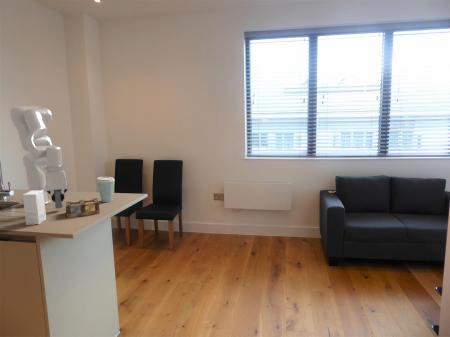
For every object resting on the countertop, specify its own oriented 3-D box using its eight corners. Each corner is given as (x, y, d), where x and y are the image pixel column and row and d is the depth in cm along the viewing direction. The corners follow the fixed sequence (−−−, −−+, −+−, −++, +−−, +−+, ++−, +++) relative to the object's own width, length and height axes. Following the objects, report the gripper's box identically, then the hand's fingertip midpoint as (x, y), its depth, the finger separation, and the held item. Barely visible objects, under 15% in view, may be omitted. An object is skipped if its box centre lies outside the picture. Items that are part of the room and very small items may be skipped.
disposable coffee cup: (116, 198, 203) (114, 175, 201) (116, 202, 193) (114, 178, 191) (98, 200, 200) (96, 176, 197) (98, 204, 190) (95, 179, 187)
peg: (55, 208, 174) (53, 189, 172) (55, 207, 177) (53, 188, 175) (62, 207, 176) (60, 188, 174) (62, 206, 179) (60, 187, 177)
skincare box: (34, 220, 162) (30, 190, 159) (47, 219, 162) (44, 189, 160) (25, 225, 153) (21, 194, 151) (39, 224, 154) (35, 193, 152)
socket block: (66, 218, 163) (65, 206, 162) (67, 212, 173) (65, 201, 172) (99, 213, 170) (98, 202, 169) (98, 208, 180) (97, 197, 179)
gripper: (37, 171, 166) (40, 204, 169) (72, 168, 173) (74, 201, 176) (38, 169, 172) (41, 201, 176) (72, 166, 180) (74, 197, 183)
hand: (58, 200), depth 176 cm, fingers closed on peg, 3 cm apart
